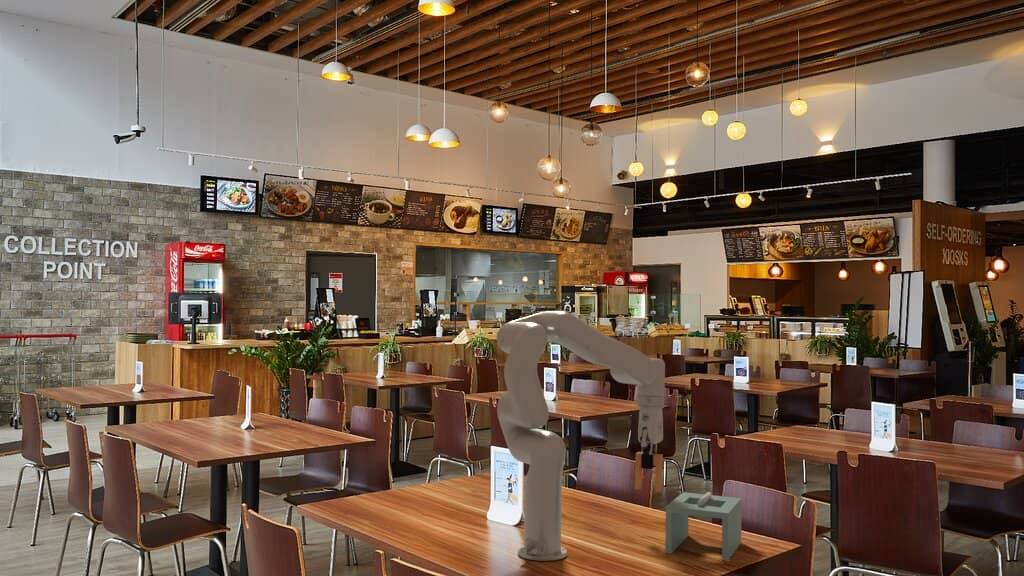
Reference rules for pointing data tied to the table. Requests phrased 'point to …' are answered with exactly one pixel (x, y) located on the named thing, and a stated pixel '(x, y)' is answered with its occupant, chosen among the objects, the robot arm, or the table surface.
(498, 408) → the robot arm
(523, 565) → the table surface
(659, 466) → the wooden arch bridge
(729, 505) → the shelf
